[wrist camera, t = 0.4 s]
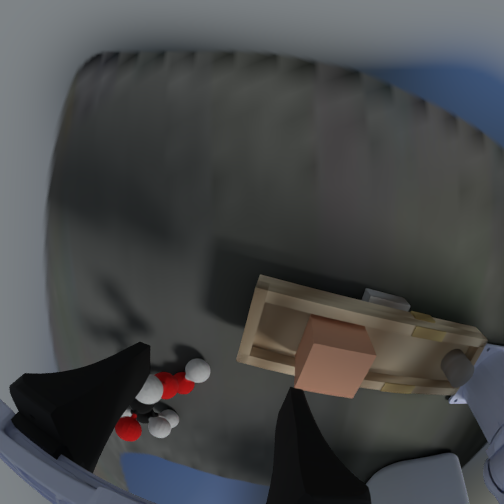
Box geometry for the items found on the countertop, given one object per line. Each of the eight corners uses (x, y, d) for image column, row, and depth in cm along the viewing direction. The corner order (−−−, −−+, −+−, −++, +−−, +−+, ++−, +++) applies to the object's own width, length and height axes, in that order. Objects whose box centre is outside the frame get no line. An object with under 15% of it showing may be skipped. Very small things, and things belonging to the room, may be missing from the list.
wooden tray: (470, 314, 20) (497, 341, 15) (437, 374, 22) (456, 407, 17) (264, 261, 21) (254, 287, 16) (244, 337, 23) (231, 376, 18)
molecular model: (196, 392, 31) (168, 462, 23) (136, 363, 31) (102, 430, 23) (228, 340, 20) (181, 463, 13) (132, 295, 20) (66, 402, 13)
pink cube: (364, 325, 18) (376, 355, 14) (345, 365, 19) (352, 398, 15) (311, 313, 18) (313, 343, 15) (295, 355, 19) (294, 388, 16)
